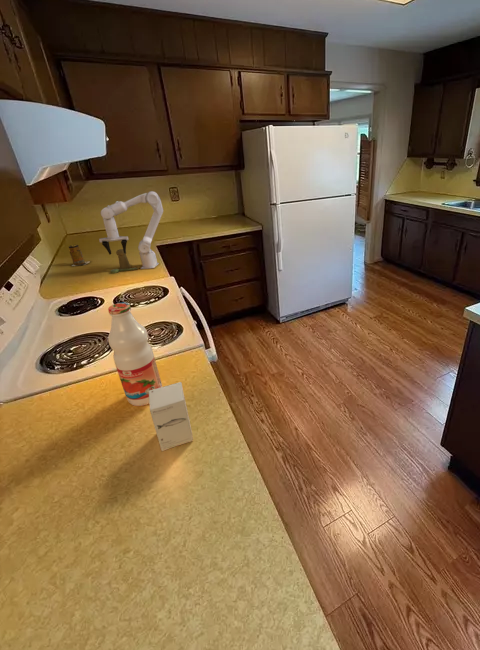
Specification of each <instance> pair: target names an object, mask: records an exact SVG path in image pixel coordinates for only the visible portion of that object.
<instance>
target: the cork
mask: <svg viewBox="0 0 480 650" xmlns="http://www.w3.org/2000/svg"><path fill="white" fill-rule="evenodd" d="M115 253H116V255H117V257H118V258H117V259H118V264H119V270H120V269H128V268H132V266H131V263H130V261H129V258H128V256H127V252H126V253H124V251H123V248H120V249H117V250H116V252H115Z"/></svg>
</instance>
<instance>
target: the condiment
mask: <svg viewBox="0 0 480 650" xmlns="http://www.w3.org/2000/svg"><path fill="white" fill-rule="evenodd" d="M68 249H69V254H70V257H71V260H72V263H73V264H72V265H71V267H77V266H86V265H88V264H89V263H90V262H91V261H85V258H84V255H83V252H82V249H81V248H80V245H78V244H72V245H69V246H68Z"/></svg>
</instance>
